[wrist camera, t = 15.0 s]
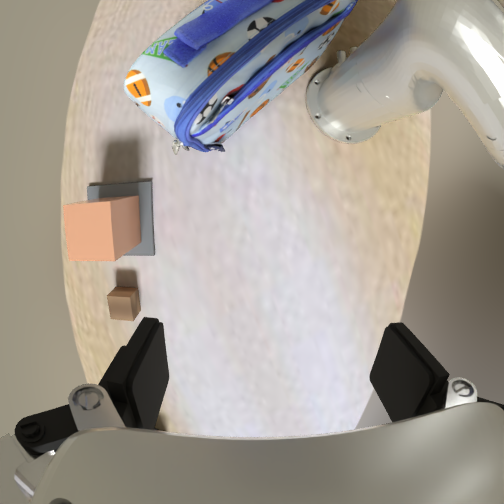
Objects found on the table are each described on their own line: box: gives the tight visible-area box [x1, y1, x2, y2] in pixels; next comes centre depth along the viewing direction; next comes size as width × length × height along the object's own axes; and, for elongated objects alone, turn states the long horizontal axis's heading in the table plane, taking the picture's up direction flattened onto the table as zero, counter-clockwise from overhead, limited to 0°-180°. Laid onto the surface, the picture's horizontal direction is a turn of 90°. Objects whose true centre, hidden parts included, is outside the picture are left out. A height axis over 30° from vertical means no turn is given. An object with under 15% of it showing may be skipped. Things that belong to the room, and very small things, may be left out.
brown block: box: [107, 287, 141, 321], centre depth 41 cm, size 4×4×4 cm
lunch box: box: [124, 0, 358, 155], centre depth 25 cm, size 28×10×22 cm, turn 138°
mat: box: [87, 182, 155, 256], centre depth 39 cm, size 11×11×1 cm
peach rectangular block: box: [63, 195, 141, 261], centre depth 34 cm, size 7×7×10 cm
